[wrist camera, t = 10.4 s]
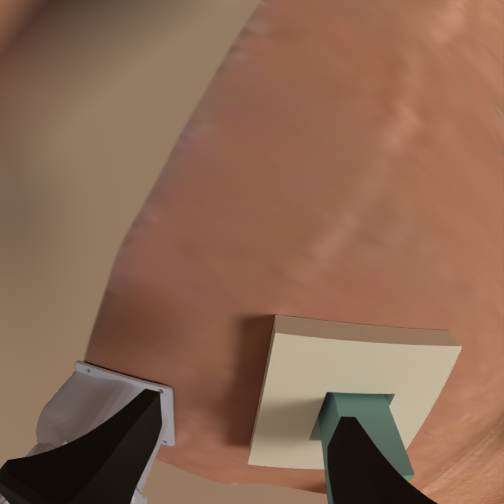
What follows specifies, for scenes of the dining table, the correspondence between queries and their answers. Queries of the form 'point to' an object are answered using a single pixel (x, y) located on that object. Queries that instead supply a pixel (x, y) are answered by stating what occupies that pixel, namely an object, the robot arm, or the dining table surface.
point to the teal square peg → (374, 423)
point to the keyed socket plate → (343, 381)
